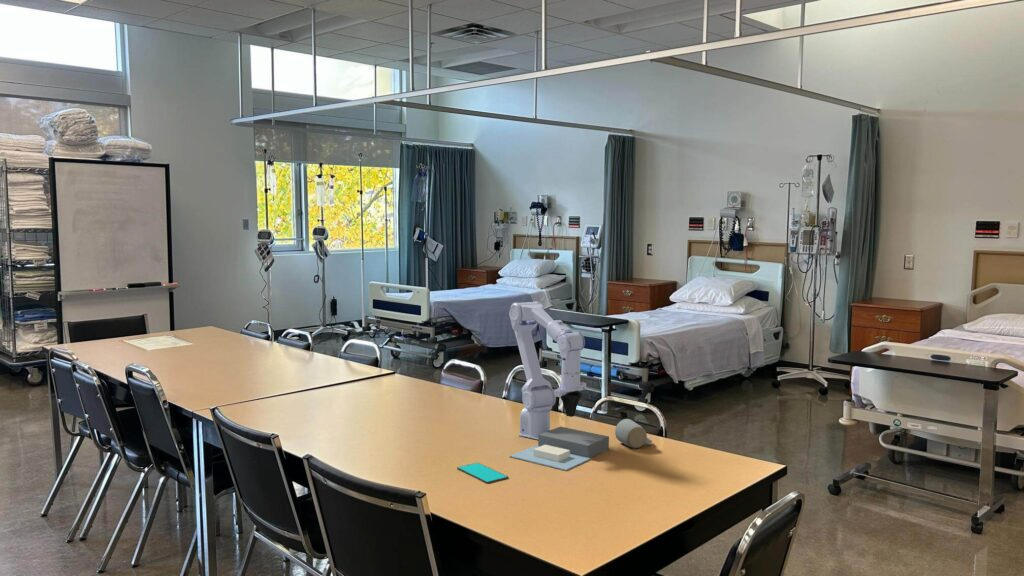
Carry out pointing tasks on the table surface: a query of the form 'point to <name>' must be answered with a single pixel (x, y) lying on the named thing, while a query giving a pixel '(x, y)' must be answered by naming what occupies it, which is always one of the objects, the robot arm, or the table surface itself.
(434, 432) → the table surface
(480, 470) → the smartphone
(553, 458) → the cream rectangular block
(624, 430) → the ceramic mug
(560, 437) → the plate
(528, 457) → the mat
